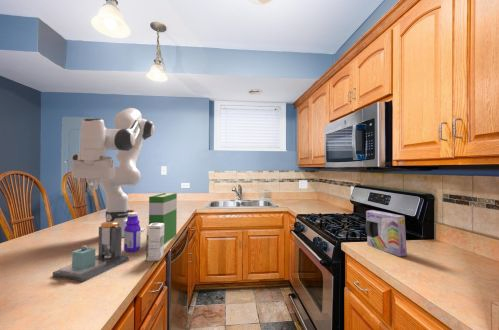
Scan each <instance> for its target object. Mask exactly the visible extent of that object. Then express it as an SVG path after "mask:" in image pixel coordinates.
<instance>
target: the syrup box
mask: <svg viewBox="0 0 499 330" xmlns="http://www.w3.org/2000/svg"><path fill="white" fill-rule="evenodd" d="M145 242H146V243H145V246H146V247H145V261H146V262H150V261H151V262H156V261H158V262H159V261H160V260H162V258H163V257H164V251H165V250H164V249H165V244H164V223H151V224H150V225H149V224H148V225H147V226H146V240H145Z"/></svg>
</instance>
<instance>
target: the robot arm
mask: <svg viewBox="0 0 499 330" xmlns="http://www.w3.org/2000/svg"><path fill="white" fill-rule="evenodd" d="M142 116H143V115H142V113H141V112H140V111H139V109H137V108H134V107H129V108H125V109H123V110H121V111H120V112H118V113H117V114H115V116H114V119H113V125H114V127H115V128H107V127H106V126H105V121H104V119H102V118H84V119H82V121H81V125H80V133H79V134H80V135H79V137H80V139H79V140H80V142H81V145H80V151H79V152H76V153H74V154H73V155H71V158H70V160H71V168H70V169H71V170H70V172H71V176H72V178H73V179H86V183H87V184H88V189H89V190H95V191H96V190H98V189H99V186H100V187H101V188H102V190H103V192H104V194H105V195H104V196H105V199H106V200H105V201H106V204H105V205H106V210H105V215H104V216H105V222H111V221H117V222H119V226H118V227H122V230H121V239H122V238H124V229H125V227H126V221H127V219H128V213H131V212H135V209H129V208H130V204H129V203H130V201H129V200H130V197H129V195H128V194H127V193H125V192H124V191H123V188H122V187H131V186H135V185H138V184H139V183H140V181H141V178H142V174H141V172H140V170H139V169H138V168H137V161H138V157H139V155H140V152H141V150H142V148H143V147H142V146H143V141H145V140H147V139H149V138H151V137H152V136H153V134H154V132H155V129H156V128H155V123H154V122H153V121H152V120H149V119H144V118H143V117H142ZM107 151H117V153H116V156H115V157H116V160H117V161H118V163H119V166H115V163H114V159H113V158H112V157H111V156H109V155H108V156H106V154H107V153H106V152H107ZM139 226H140V228H141V232H143V231H145V228H144V227H141V222H140V221H139Z"/></svg>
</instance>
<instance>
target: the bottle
mask: <svg viewBox="0 0 499 330" xmlns="http://www.w3.org/2000/svg"><path fill="white" fill-rule="evenodd" d="M138 216H139V215H138V212H135V211H134V212H131V213H128V219H127V221H126V227H125V229H124V237H123V238H124V239H123V249H124V251H126V252H129V253H133V252H137V251H139V250H140V249H141V232H142V231H141V228H142V227H141V225H140V226H139V222H140V221H139V217H138ZM140 227H141V228H140Z"/></svg>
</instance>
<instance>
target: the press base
mask: <svg viewBox="0 0 499 330" xmlns="http://www.w3.org/2000/svg"><path fill="white" fill-rule="evenodd" d="M121 230H122V227H114V228H112V233H111V253H109V254H108V253H107V245H106V244H102V227H101V225H100V226H98V252H97V253H98V254H96V255H95V264H93V265H90V266H88V267H85V268H83V269H80V268H75V267H72V264H70V265H67V266H64V267H62V268H59V269H58V270H54V271H53V272H52V277H53V278H58V279H63V280H68V281H73V282H77V283H78V282H79V283H83V282H86V281H88V280H91V279H92V278H94V277H96V276H99V275H100V274H103V273H105V272H107V271H109V270H111V269H113V268H115V267H118V266H120V265H122V264H124V263H127V262H128V261H130V256H127V255H122V238H121Z"/></svg>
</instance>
